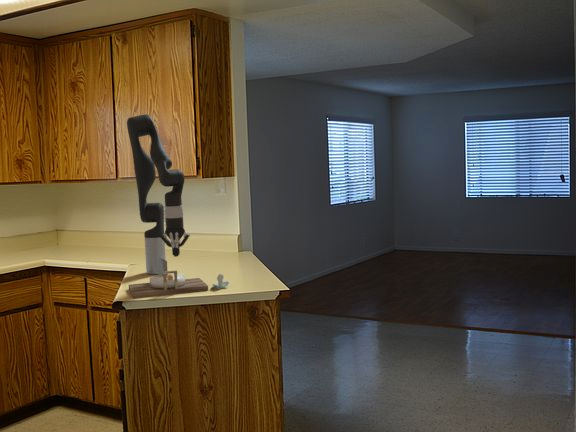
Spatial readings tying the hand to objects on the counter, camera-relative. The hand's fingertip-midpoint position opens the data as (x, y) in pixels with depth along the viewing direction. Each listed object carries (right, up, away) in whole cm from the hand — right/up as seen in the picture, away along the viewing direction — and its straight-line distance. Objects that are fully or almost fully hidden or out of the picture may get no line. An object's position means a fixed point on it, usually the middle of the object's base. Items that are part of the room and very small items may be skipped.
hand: (176, 256), depth 282 cm
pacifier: (+20, -13, -11) cm, 26 cm away
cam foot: (-3, -11, -8) cm, 13 cm away
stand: (-2, -13, -11) cm, 17 cm away
